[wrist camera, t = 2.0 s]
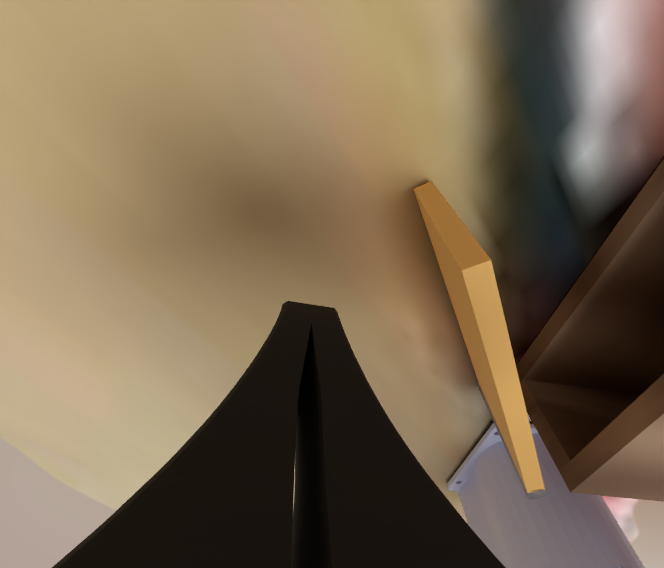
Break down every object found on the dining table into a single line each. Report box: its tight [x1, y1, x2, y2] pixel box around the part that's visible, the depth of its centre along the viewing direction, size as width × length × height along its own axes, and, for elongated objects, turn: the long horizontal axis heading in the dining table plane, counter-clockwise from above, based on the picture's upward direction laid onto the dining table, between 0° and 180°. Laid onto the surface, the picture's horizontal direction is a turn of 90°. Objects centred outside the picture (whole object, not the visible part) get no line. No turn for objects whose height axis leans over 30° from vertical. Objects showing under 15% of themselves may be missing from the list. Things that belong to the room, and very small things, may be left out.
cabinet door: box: [414, 181, 548, 499], centre depth 16 cm, size 15×1×7 cm, turn 25°
